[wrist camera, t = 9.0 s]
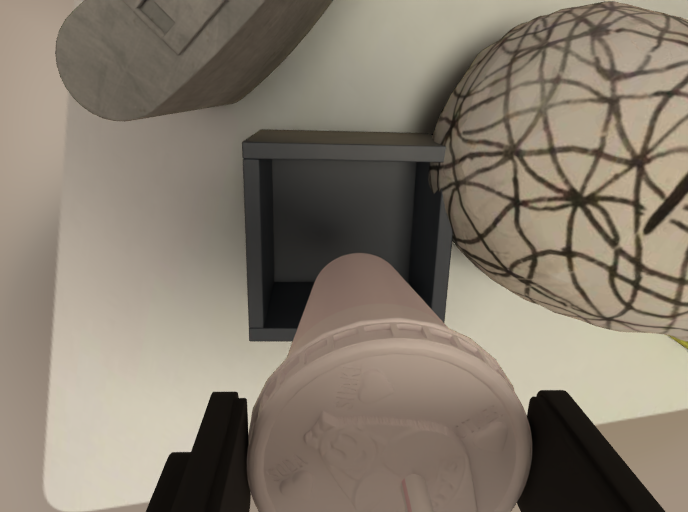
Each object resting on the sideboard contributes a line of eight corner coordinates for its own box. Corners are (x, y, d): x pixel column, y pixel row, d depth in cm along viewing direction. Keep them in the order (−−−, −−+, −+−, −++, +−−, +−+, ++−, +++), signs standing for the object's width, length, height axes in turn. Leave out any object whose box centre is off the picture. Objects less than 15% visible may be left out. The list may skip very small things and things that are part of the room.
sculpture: (539, 346, 37) (676, 505, 23) (364, 138, 32) (401, 176, 18) (721, 212, 35) (1003, 297, 20) (564, -39, 29) (794, -160, 15)
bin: (260, 129, 32) (241, 141, 24) (427, 133, 32) (461, 146, 25) (264, 287, 35) (249, 341, 27) (416, 288, 36) (442, 341, 28)
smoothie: (378, 392, 22) (473, 875, 8) (246, 319, 20) (111, 758, 7) (469, 273, 20) (764, 631, 7) (334, 186, 19) (375, 419, 5)
